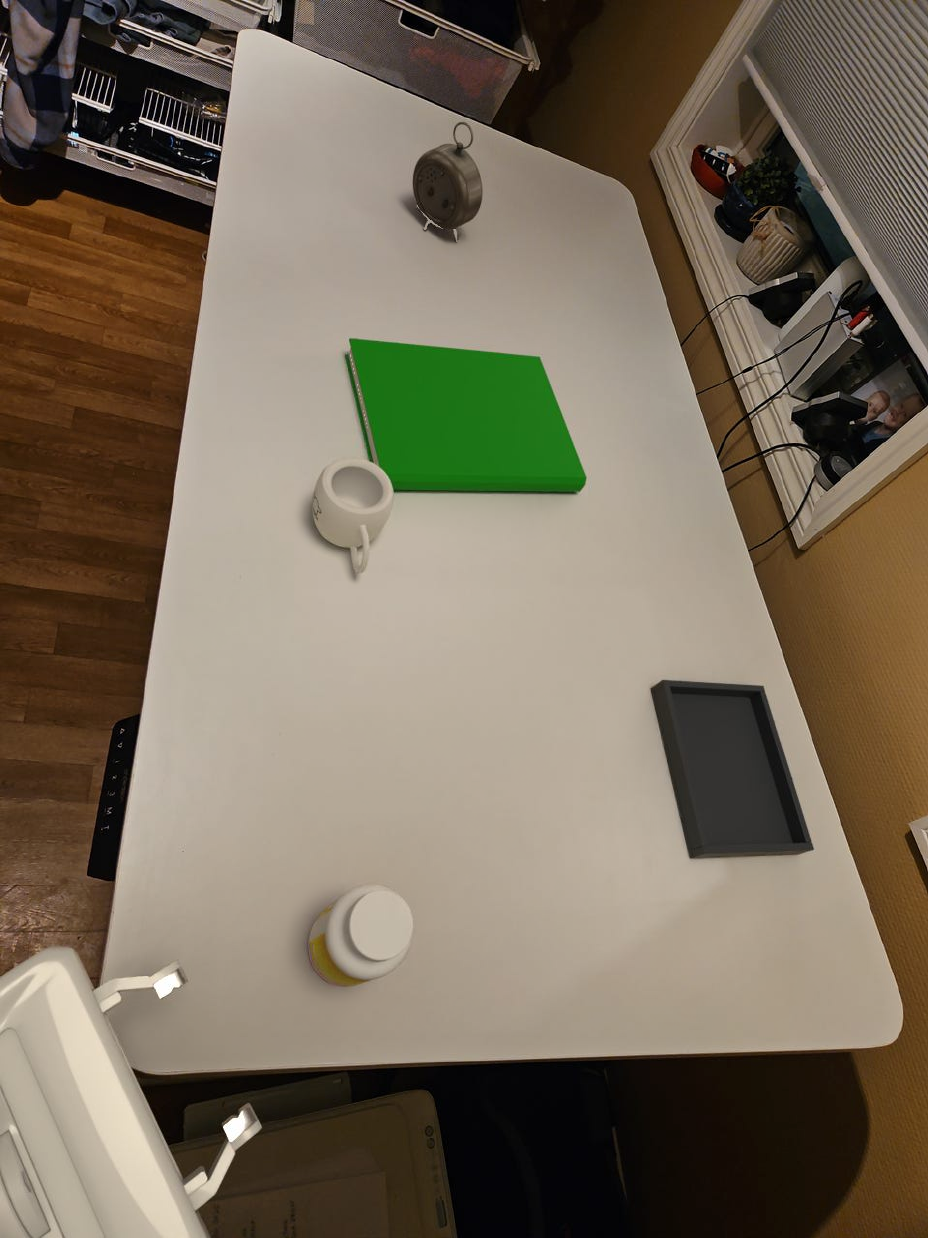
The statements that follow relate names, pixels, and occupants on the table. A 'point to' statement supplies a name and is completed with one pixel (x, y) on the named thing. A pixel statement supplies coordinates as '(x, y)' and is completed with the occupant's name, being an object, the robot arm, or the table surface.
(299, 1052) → the table surface
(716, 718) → the tray
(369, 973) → the supplement bottle
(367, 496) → the mug
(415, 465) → the book
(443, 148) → the alarm clock
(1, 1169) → the robot arm
